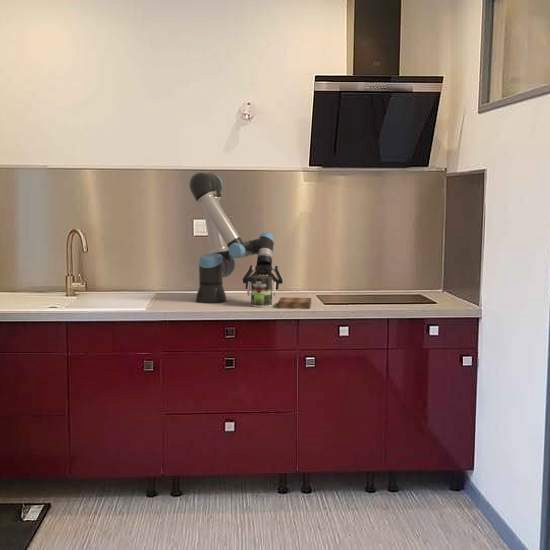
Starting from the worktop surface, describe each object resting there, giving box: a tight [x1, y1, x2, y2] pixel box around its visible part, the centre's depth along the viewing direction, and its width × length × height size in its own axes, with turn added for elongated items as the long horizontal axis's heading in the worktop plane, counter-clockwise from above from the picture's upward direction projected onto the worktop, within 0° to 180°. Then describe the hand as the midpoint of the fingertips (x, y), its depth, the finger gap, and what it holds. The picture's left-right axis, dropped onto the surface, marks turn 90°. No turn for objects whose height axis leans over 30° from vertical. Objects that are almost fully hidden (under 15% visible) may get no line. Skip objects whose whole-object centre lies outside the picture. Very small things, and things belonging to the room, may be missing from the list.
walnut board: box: [277, 296, 312, 310], centre depth 346 cm, size 15×15×3 cm
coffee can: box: [250, 275, 273, 308], centre depth 347 cm, size 10×10×14 cm
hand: (261, 294), depth 345 cm, fingers open, 12 cm apart
